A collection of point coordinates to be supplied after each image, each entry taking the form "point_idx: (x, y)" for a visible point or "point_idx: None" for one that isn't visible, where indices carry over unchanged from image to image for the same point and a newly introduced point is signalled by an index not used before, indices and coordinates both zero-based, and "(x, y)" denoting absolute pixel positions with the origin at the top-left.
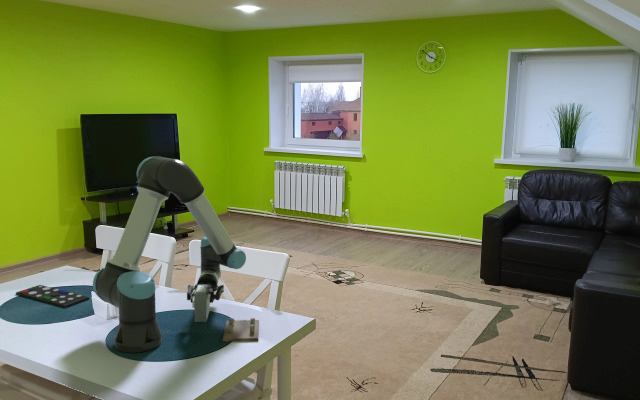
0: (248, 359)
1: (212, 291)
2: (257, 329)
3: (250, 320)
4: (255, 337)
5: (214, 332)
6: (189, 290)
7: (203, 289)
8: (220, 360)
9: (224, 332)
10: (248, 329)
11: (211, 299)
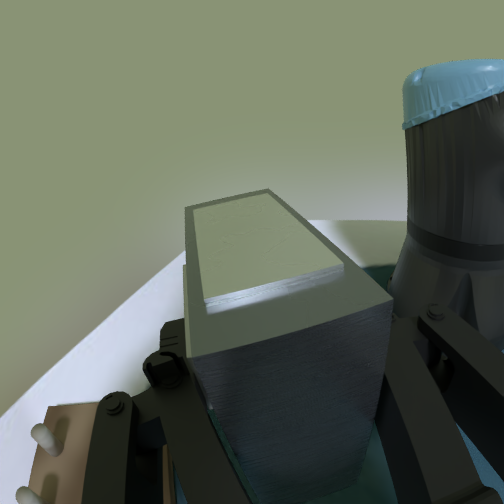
0: (101, 326)
1: (181, 451)
2: (34, 470)
3: (36, 497)
4: (54, 410)
5: None
6: (496, 367)
7: (222, 222)
8: (167, 311)
9: (164, 445)
10: (64, 474)
11: (175, 325)
